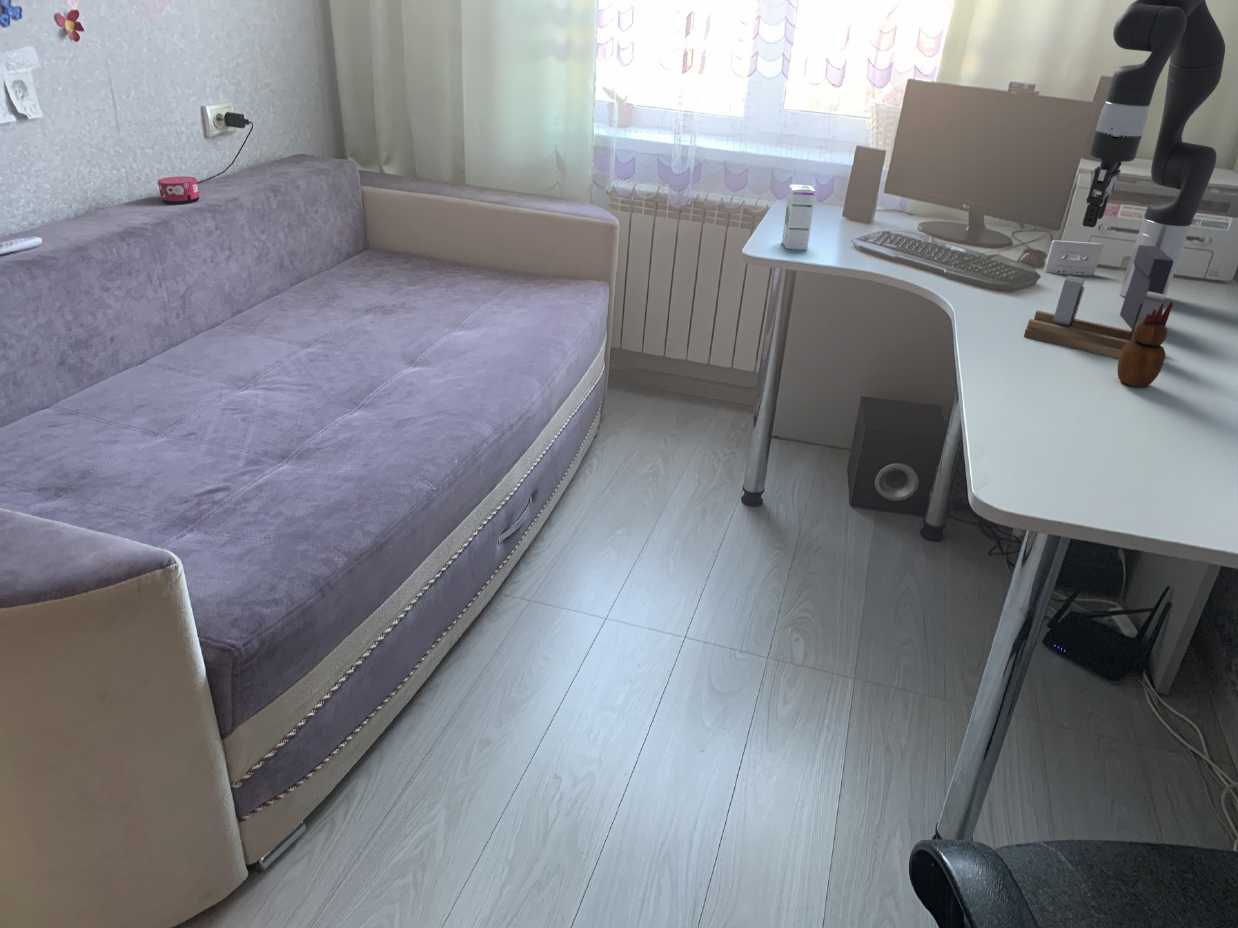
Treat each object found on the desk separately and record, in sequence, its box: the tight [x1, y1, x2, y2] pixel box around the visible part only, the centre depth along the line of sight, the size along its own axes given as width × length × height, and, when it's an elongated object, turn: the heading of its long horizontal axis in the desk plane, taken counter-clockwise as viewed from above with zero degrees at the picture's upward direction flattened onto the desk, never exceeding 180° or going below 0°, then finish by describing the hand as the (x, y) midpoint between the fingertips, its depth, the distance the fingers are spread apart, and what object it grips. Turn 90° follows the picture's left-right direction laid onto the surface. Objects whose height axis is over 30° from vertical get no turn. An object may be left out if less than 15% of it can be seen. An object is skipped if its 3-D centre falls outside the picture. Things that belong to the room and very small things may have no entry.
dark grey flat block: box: [1119, 245, 1174, 329], centre depth 190 cm, size 11×4×15 cm, turn 168°
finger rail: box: [1023, 291, 1166, 359], centre depth 179 cm, size 10×23×12 cm, turn 57°
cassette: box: [1043, 239, 1104, 276], centre depth 224 cm, size 12×2×8 cm, turn 89°
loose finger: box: [1052, 275, 1086, 328], centre depth 181 cm, size 4×3×10 cm
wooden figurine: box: [1116, 301, 1174, 388], centre depth 161 cm, size 7×6×15 cm
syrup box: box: [781, 184, 816, 251], centre depth 229 cm, size 6×6×14 cm
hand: (1092, 222), depth 173 cm, fingers open, 8 cm apart
